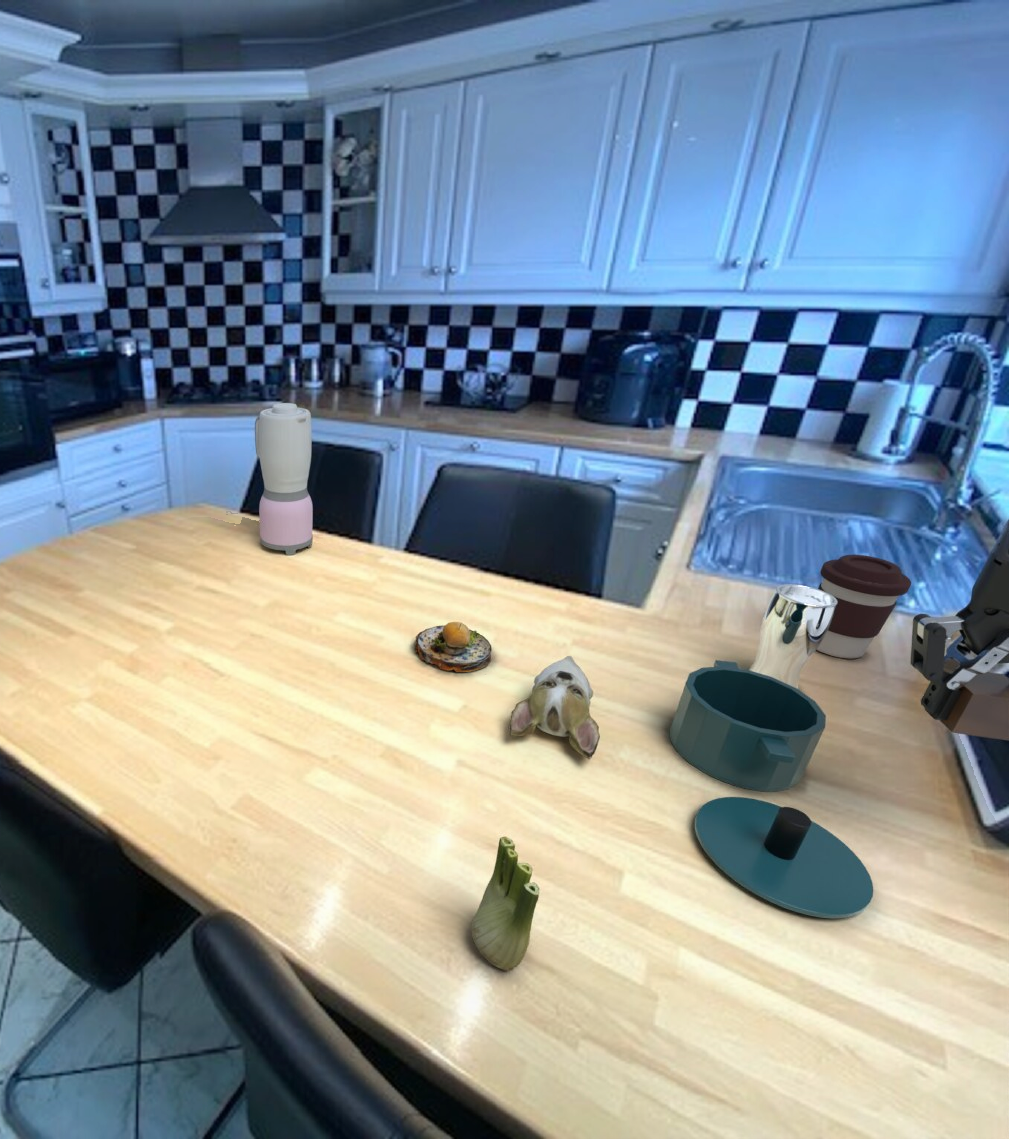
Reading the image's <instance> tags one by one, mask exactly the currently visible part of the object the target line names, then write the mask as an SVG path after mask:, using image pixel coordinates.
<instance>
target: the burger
mask: <svg viewBox="0 0 1009 1139" xmlns="http://www.w3.org/2000/svg"><path fill="white" fill-rule="evenodd" d="M492 650H493V648H492V644H491V643H490V641H489V639H488V638H486V637H485V636H484V635H483V634H480V633H479V632H478V631H477V630H472V629H469V627H468V626H467V625H466V624H465V623H463V622H461V621H451V622H448V623H446V624H445V625H436V626H432V627H429V628H425V629H423V630H422V631H420V632H419V633H417V635H416V637H415V645H414V651H415V653H416V654H418V655H419V658H420V659H421V661H424V662H425V663H430V664H432V665H435V666H437V667H438V668H439V669H440V670H444V671H449V672H450V671H452V670H454V671H455V673H468V672H476V671H478V670H481V669H484V668H485V667H487V666H488V664H489V663H491V660H492Z"/></svg>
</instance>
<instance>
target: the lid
mask: <svg viewBox="0 0 1009 1139" xmlns="http://www.w3.org/2000/svg"><path fill="white" fill-rule="evenodd" d="M694 831H695V834H696V838H697V840H698V842H699V844H700V846H701V848H702V849H703V851H704V852H705V854H706V855H707V857H708V858H710V860H711V862H713V863H714V864H715V865H716V867H718V869H720V870H721V871H722V872H723V873H725V874H726V876H728V877H729V878H731V879H732V880H733V881H734V882H736V883H737V884H738V885H740V886H741V887H743V888H745V889H746V890H747V891H749V892H751V893H752V894H754V895H756V896H758V897H759V898H762V899H763V900H765V901H767V902H770V903H771V904H774V905H777V906H778V907H781V908H783V909H786V910H789V911H792V912H795V913H799V914H802V915H806V916H809V917H816V918H823V919H846V918H851V917H854V916H857V915H859V914H860V913H862V912H864V911H865V910H866V909H867V908H868V906H869V905H870V904H871V902H872V899H873V897H874V885H873V880H872V878H871V877H872V876H871V875H870V873H869V871H868V870H867V868H866V866H865V865H864V863H863V861H862V860H861V859H860V858H859V856H857V855H856V853H855V852H854V851H853V850H852V849H851V848H850V847H849V846H848V845H846V843H844V842H843V841H842V840H840V839H839V838H838V837H837V836H836V835H835V834H833V833H831V832H830V831H829V830H827V829H826V828H825V827H823V826H821V825H819V824H818V823H817V822H815V821H813V820H812V819H811V818H810V817H809V816H808V815H807V814H806V813H805V812H803V811H801V810H799V809H797V808H794V807H791V806H780V805H777V804H774V803H771V802H769V801H764V800H760V799H756V798H750V797H743V796H742V797H741V796H725V797H724V796H723V797H718V798H715V799H711V800H710V801H707V802H706V803H704V804H703V805H701V807H700V808H699V809H698V811H697V813H696V815H695V819H694Z"/></svg>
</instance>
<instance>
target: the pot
mask: <svg viewBox="0 0 1009 1139" xmlns="http://www.w3.org/2000/svg"><path fill="white" fill-rule="evenodd" d="M826 720H827V715H826V713H825V712H824V710H823V709H822V708H821V707H820V706H819V704H818V703H817V701H815V700H814V699H813V698H811V697H810V696H808V695H807V694H805V693H804V692H803V691H801V690H799V688H798V689H797V688H795V687H793V686H790V685H788V684H786V683H784V682H782V681H779V680H777V679H775V678H773V677H770V676H767V675H763V674H760V673H757V672H753V671H750V670H749V669H745V668H740V667H739V665H738V664H737V662H735V661H727V660H720V659H715V660H714V663H713V666H705V667H700V668H698V669H696V670H694V671H692V672H690V673H688V676H687V679H686V681H685V684H684V687H683V690H682V693H681V696H680V699H679V702H678V705H677V708H676V711H675V714H674V717H673V720H672V723H671V726H670V730H669V739H670V741H671V743H672V746H673V748H674V749H675V751H676V752H677V753H678V754H679V755H680V756H681V757H682V758H683V759H684V760H685V761H686V762H687V763H689V764H690V765H692V766H693V767H694V768H696V769H697V770H699V771H700V772H702V773H704V774H705V775H708V776H709V777H712V778H714V779H716V780H717V781H720V782H723V783H725V784H728V785H731V786H734V787H737V788H741V789H746V790H750V791H756V792H767V793H769V792H770V793H771V792H774V793H775V792H782V791H786V790H789V789H791V788H793V787H794V786H795V785H797V784H798V783H799V781H800V780H802V778H803V776H804V774H805V771H806V770H807V767H808V765H809V763H810V761H811V759H812V757H813V754H814V752H815V750H816V747H817V746H818V743H819V741H820V739H821V737H822V735H823V733H824V731H825V729H826Z"/></svg>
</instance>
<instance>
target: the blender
mask: <svg viewBox="0 0 1009 1139" xmlns="http://www.w3.org/2000/svg"><path fill="white" fill-rule="evenodd" d="M312 434H313V433H312V414H311V412H310V410H309V409H306V408H303V407H298V406H297V404H296V403H291V402H282V403H275V404H273V405H272V407H271V408H266V409H263V410H261V411H260V413H259V415H258V416H257V417H256V418H255V421H254V442H255V443H254V444H255V454H256V457H257V458H258V459H259V463H260V468H261V474H262V479H263V486H264V487H263V488H264V489H263V492H262V495H261V498H260V501H259V507H258V508H259V509H258V512H259V514H258V515H259V516H258V519H259V542H260V545H262V546H263V547H265V548H268V549H270V550H275V551H284V552H285V555H286V556H294V555H296V551H297V550H301V549H305V548H306V547H307V549H311V548H312V547H313V539H314V537H313V536H314V535H313V523H314V522H313V519H314V518H313V516H314V515H313V514H314V512H313V511H314V508H313V507H314V506H313V501H312V498H311V496H310V493H309V491H308V480H309V475H310V470H311V463H312V438H313V437H312Z"/></svg>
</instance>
